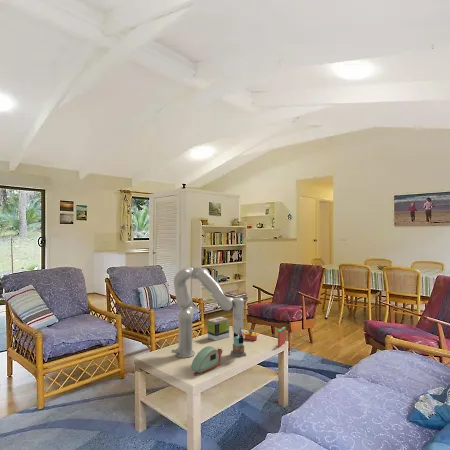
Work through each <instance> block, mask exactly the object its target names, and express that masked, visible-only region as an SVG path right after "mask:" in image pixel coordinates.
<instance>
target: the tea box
mask: <svg viewBox="0 0 450 450" xmlns="http://www.w3.org/2000/svg"><path fill="white" fill-rule="evenodd" d="M206 322H207V323H206V324H207V338H208V339H210V340H213V341H218V340H223V339H226V338H229V337H230V318H227V317H224V316H217V317H214V318H210V319H207V321H206Z"/></svg>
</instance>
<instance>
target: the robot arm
mask: <svg viewBox="0 0 450 450" xmlns="http://www.w3.org/2000/svg"><path fill="white" fill-rule="evenodd" d="M191 279H192V280H197V281H198V282H199V283H200V284H201V285H202V287H204V289H205V290H207V292H208V293H209V294H210V296H211V297H212V298H213V300H214V301H215V302H216V304H217V305H219V307H220V308H221V309H222V310H223V311H225V312H227V311H231V310H232V332H233V338H234V337H236V336H239V344H241V343H243V344H244V338H245V335H244V333H245V331H244V330H245V329H244V328H245V327H244V325H245V324H244V319H245V310H244V309H245V305H244V304H245V300H244V299H243V298H242V297H231V296H226V294H224V293H223V290H222V288H221V287H220V284H219V283H218V282H217V281H216V280H215V279H214V278H213V277H212V276H211V274H210V272H209V270H208V269H207V268H205V267H196V266H185V267H184V268H182V269H181V270H179V271H178V272H177V273H176V274H175V276H174V278H173V288H174V293H175V300H176V304H177V306H178V307H179V309H180V311H179V313H178V315H177V321H178V322H177V323H178V347H177V348H175V349H171V353H173V354H176V355H175V356H177V357H178V358H183V359H184V358H185V359H186V358H191V357H194V355H195V351H194V350H193V317H194V314H195V307H194V303H193V297H192V294H191V293H190V292H189V291H188V287H187V281H189V280H191ZM240 334H241V335H240Z"/></svg>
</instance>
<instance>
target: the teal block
mask: <svg viewBox="0 0 450 450" xmlns="http://www.w3.org/2000/svg"><path fill="white" fill-rule="evenodd" d="M233 344H234V345H235V346H243V345H244V342H243V343H241V344H239V335H238V336H236V337H234V336H233Z"/></svg>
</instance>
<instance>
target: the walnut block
mask: <svg viewBox="0 0 450 450" xmlns="http://www.w3.org/2000/svg"><path fill="white" fill-rule="evenodd" d="M232 350H233V352H234V353H235V354H240V353H244V352H245V345H244V344H243V346H235V345H234V343H232Z"/></svg>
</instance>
